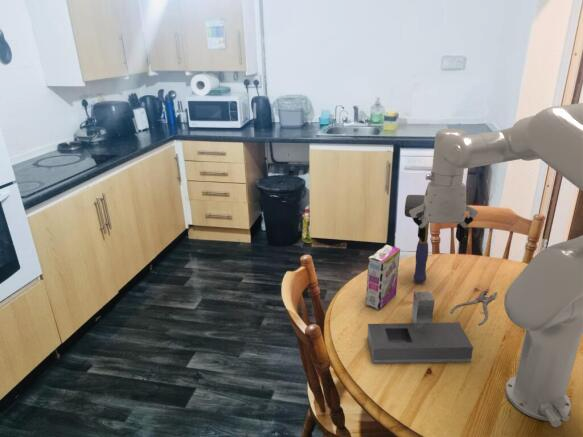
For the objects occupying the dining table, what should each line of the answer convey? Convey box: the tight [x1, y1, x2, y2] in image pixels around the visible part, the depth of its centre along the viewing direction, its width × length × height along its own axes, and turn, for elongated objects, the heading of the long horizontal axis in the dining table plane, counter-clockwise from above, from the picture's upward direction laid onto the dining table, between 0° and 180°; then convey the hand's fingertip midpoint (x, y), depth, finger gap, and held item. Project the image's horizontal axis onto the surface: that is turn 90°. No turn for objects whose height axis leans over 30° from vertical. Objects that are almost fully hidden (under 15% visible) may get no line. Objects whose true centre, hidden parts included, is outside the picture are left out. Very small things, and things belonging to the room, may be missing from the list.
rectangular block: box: [366, 321, 474, 364], centre depth 111 cm, size 10×24×4 cm, turn 89°
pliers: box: [449, 288, 498, 326], centre depth 130 cm, size 10×1×20 cm
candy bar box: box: [365, 244, 401, 311], centre depth 130 cm, size 11×5×16 cm, turn 141°
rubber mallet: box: [404, 194, 430, 285], centre depth 136 cm, size 12×8×30 cm, turn 68°
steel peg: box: [411, 291, 435, 323], centre depth 120 cm, size 4×4×9 cm
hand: (440, 239), depth 116 cm, fingers open, 9 cm apart
